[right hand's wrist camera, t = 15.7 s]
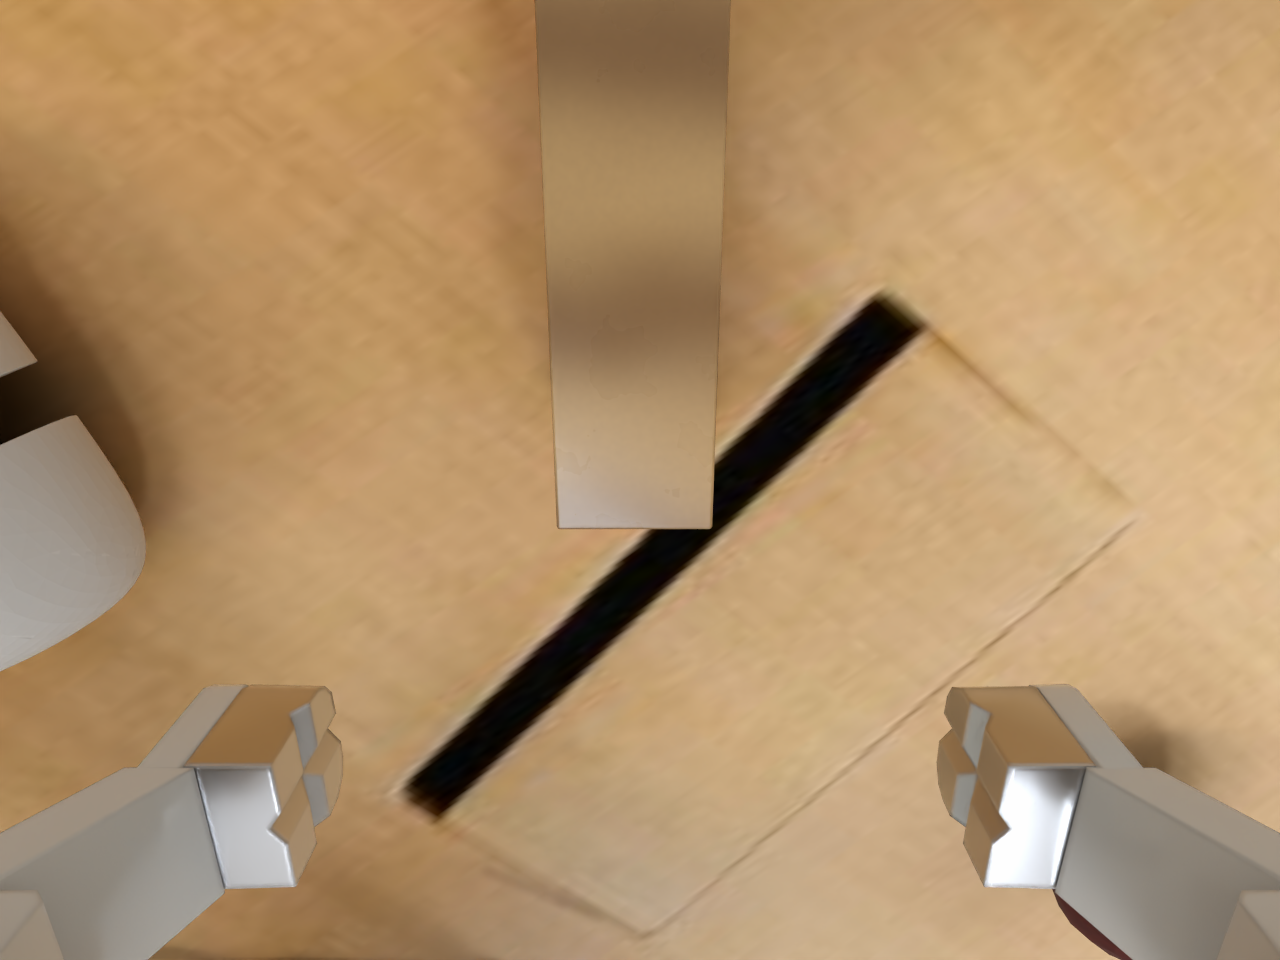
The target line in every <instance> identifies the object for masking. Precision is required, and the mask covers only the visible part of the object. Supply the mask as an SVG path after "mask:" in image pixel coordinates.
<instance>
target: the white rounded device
mask: <svg viewBox="0 0 1280 960" xmlns="http://www.w3.org/2000/svg"><path fill="white" fill-rule="evenodd" d="M36 362H38V361H37V359H36V358H35V357H34V355H33V354H32V353H31V351H30V350H29V348H28V347H27V346H26V344H25V343H24V342H23V340H22V339H21V338H20V336H19V335H18V334H17V332H16V331H15V330H14V328H13V327H12V326H11V324H10V323H9V322H8V320H7V319H6V318H5V317H4V315H3V314H2V313H1V311H0V377H3V376H5V375H7V374H10V373H12V372H15V371H17V370H19V369H22V368H24V367H27V366H29V365H32V364H34V363H36ZM145 555H146V540H145V534H144V529H143V526H142V523H141V520H140V517H139V514H138V512H137V510H136V508H135V505H134V503H133V501H132V499H131V497H130V495H129V493H128V492H127V490H126V488H125V487H124V485H123V483H122V482H121V480H120V478H119V477H118V475H117V473H116V472H115V470H114V468H113V467H112V465H111V464H110V463H109V461H108V460H107V458H106V457H105V455H104V454H103V452H102V451H101V449H100V448H99V446H98V445H97V443H96V442H95V440H94V439H93V437H92V436H91V435H90V433H89V432H88V430H87V429H86V427H85V426H84V425H83V423H82V422H81V420H80V419H79V418H78V416H77V415H73V416H69V417H66V418H63V419H60V420H58V421H55V422H52V423H50V424H47V425H45V426H43V427H40V428H38V429H35V430H33V431H31V432H28V433H26V434H24V435H22V436H19V437H17V438H15V439H12V440H10V441H8V442H6V443H3V444H1V445H0V671H2V670H4V669H7V668H9V667H11V666H13V665H15V664H18V663H20V662H22V661H24V660H26V659H28V658H31V657H33V656H34V655H36V654H38V653H40V652H42V651H44V650H46V649H48V648H49V647H51V646H53V645H55V644H57V643H59V642H60V641H62V640H64V639H66V638H68V637H69V636H71V635H72V634H74V633H76V632H77V631H79V630H80V629H82V628H83V627H85V626H86V625H88V624H90V623H91V622H93V621H94V620H96V619H97V618H98V617H100V616H101V615H102V614H104V613H105V612H106V611H108V610H109V609H110V608H112V607H113V606H114V605H115V604H116V603H117V602H118V601H119V600H121V599H122V598H123V597H124V596H125V595H126V594H127V593H128V591H129V590H130V589H131V588H132V586H133V585H134V584H135V582H136V581H137V579H138V577H139V575H140V574H141V571H142V568H143V566H144V562H145Z"/></svg>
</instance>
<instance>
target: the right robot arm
mask: <svg viewBox="0 0 1280 960" xmlns="http://www.w3.org/2000/svg"><path fill="white" fill-rule="evenodd" d="M335 714H336V711H335V707H334V702H333V697H332V692H331V691H330V690H329V689H327V688H326V687H325V686H290V685H250V686H249V685H211V686H208V687H206V688H203V689H202V690H201V692H200V693H199V694H198V695H197V696H196V698H195V699H194V700H193V701H192V702H191V704H190V705H189V706H188V707H187V708H186V709H185V711H184V712H183V713H182V714H181V715H180V717H179V718H178V719H177V720H176V721H175V723H174V724H173V725H172V726H171V727H170V729H169V730H168V731H167V732H166V733H165V735H164V736H163V737H162V738H161V739H160V740H159V742H158V743H157V744H156V745H155V746H154V748H153V749H152V750H151V751H150V752H149V754H148V755H147V756H146V757H145V758H144V760H143V761H142V762H141V763H140V764H139V766H138V767H137V768H123V769H121V770H119V771H117V772H115V773H113V774H111V775H109V776H108V777H106V778H104V779H102V780H100V781H98V782H96V783H94V784H92V785H90V786H89V787H87V788H85V789H83V790H81V791H79V792H77V793H75V794H73V795H71V796H70V797H68V798H66V799H64V800H62V801H60V802H58V803H56V804H54V805H52V806H51V807H49V808H47V809H45V810H43V811H41V812H39V813H37V814H35V815H33V816H32V817H30V818H28V819H26V820H24V821H22V822H20V823H18V824H16V825H14V826H13V827H11V828H9V829H7V830H5V831H3V832H1V833H0V960H148V959H149V958H150V957H151V956H152V955H154V954H155V953H156V952H157V951H158V950H159V949H161V948H162V947H163V946H164V945H165V944H166V943H167V942H169V941H170V940H171V939H172V938H173V937H174V936H176V935H177V934H178V933H179V932H180V931H181V930H183V929H184V928H185V927H186V926H187V925H188V924H189V923H191V922H192V921H193V920H194V919H195V918H196V917H198V916H199V915H200V914H201V913H202V912H203V911H204V910H206V909H207V908H208V907H209V906H210V905H211V904H213V903H214V902H215V901H216V900H217V899H218V898H220V897H221V896H222V895H223V894H224V893H225V890H224V889H240V888H275V887H296V886H297V884H298V882H299V879H300V877H301V875H302V873H303V871H304V869H305V867H306V865H307V863H308V861H309V859H310V857H311V855H312V852H313V850H314V848H315V846H316V844H317V841H316V835H315V830H314V827H315V826H316V825H318V824H319V823H321V822H322V821H323V820H325V819H326V818H327V817H329V816H330V815H331V812H332V810H333V808H334V806H335V803H336V801H337V799H338V795H339V791H340V786H341V781H342V777H343V754H342V747H341V741H340V740H339V739H338V738H337V737H336V736H335V735H334V734H333V733H332V732H331V731H330V730H329V729H328V727H329V725H330V723H331V721H332V719H333V718H334V716H335ZM944 714H945V716H946V718H947V719H948V721H949V723H950V725H951V727H952V729H951V730H950V731H949V732H948V733H947V734H946V735H945V736H944V737H943V738H942V739H941V740H940V741H939V748H938V756H937V772H938V784H939V788H940V791H941V795H942V799H943V801H944V804H945V806H946V808H947V810H948V812H949V815H950V816H951V817H953V818H954V819H955V820H957V821H958V822H959V823H961V824H962V825H964V826H965V827H966V830H965V835H964V841H963V844H964V846H965V848H966V850H967V852H968V855H969V857H970V859H971V861H972V863H973V865H974V867H975V869H976V871H977V873H978V875H979V877H980V879H981V881H982V883H983V886H984V887H1004V888H1039V889H1056V890H1055V893H1056V894H1057V895H1059V896H1060V897H1061V898H1062V899H1063V900H1064V901H1066V902H1067V903H1068V904H1069V905H1070V906H1071V907H1072V908H1074V909H1075V910H1076V911H1077V912H1078V913H1079V914H1081V915H1082V916H1083V917H1084V918H1085V919H1086V920H1087V921H1089V922H1090V923H1091V924H1092V925H1093V926H1094V927H1095V928H1097V929H1098V930H1099V931H1100V932H1101V933H1102V934H1104V935H1105V936H1106V937H1107V938H1108V939H1109V940H1110V941H1112V942H1113V943H1114V944H1115V945H1116V946H1117V947H1119V948H1120V949H1121V950H1122V951H1123V952H1124V953H1125V954H1127V955H1128V956H1129V957H1130V958H1131V959H1132V960H1280V833H1278V832H1277V831H1275V830H1273V829H1271V828H1269V827H1267V826H1265V825H1263V824H1261V823H1260V822H1258V821H1256V820H1254V819H1252V818H1250V817H1248V816H1246V815H1244V814H1242V813H1241V812H1239V811H1237V810H1235V809H1233V808H1231V807H1229V806H1227V805H1225V804H1224V803H1222V802H1220V801H1218V800H1216V799H1214V798H1212V797H1210V796H1208V795H1207V794H1205V793H1203V792H1201V791H1199V790H1197V789H1195V788H1193V787H1191V786H1189V785H1188V784H1186V783H1184V782H1182V781H1180V780H1178V779H1176V778H1174V777H1172V776H1171V775H1169V774H1167V773H1165V772H1163V771H1161V770H1159V769H1157V768H1143V767H1142V766H1141V764H1140V763H1139V762H1138V761H1137V760H1136V758H1135V757H1134V756H1133V755H1132V754H1131V752H1130V751H1129V750H1128V749H1127V748H1126V747H1125V745H1124V744H1123V743H1122V742H1121V741H1120V739H1119V738H1118V737H1117V736H1116V735H1115V733H1114V732H1113V731H1112V730H1111V729H1110V727H1109V726H1108V725H1107V724H1106V723H1105V722H1104V720H1103V719H1102V718H1101V717H1100V716H1099V714H1098V713H1097V712H1096V711H1095V710H1094V708H1093V707H1092V706H1091V705H1090V704H1089V702H1088V701H1087V700H1086V699H1085V698H1084V697H1083V695H1082V694H1081V693H1080V692H1079V691H1078V689H1076V688H1074V687H1073V686H1071V685H1069V684H1053V685H1029V686H1014V687H952V688H951V690H950V692H949V694H948V696H947V700H946V706H945V711H944Z"/></svg>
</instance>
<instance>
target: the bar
mask: <svg viewBox="0 0 1280 960" xmlns="http://www.w3.org/2000/svg"><path fill="white" fill-rule="evenodd" d="M730 6H731V0H535V18H536V42H537V66H538V89H539V113H540V137H541V161H542V184H543V208H544V232H545V255H546V279H547V303H548V326H549V350H550V374H551V397H552V421H553V445H554V468H555V492H556V516H557V527H558V529H710V528H711V527H712V512H713V484H714V456H715V428H716V400H717V372H718V344H719V316H720V287H721V259H722V231H723V203H724V175H725V147H726V119H727V91H728V63H729V35H730Z"/></svg>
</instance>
